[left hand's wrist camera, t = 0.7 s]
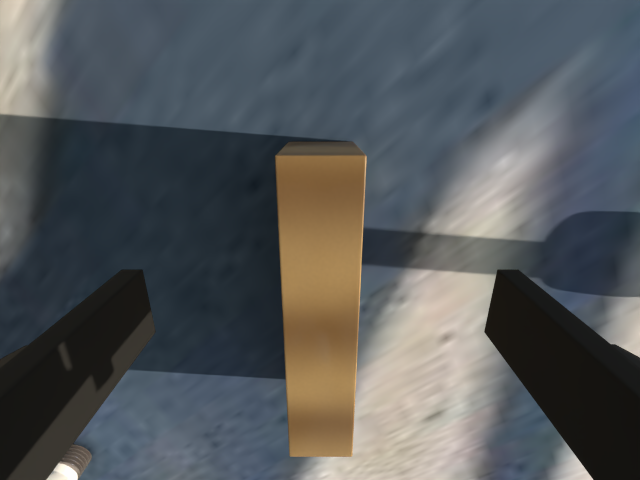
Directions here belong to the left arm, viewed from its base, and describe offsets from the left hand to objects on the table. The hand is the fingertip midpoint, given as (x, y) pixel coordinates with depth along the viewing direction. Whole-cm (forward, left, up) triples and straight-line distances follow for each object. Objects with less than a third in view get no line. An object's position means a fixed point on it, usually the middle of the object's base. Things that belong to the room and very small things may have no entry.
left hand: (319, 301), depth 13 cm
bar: (+5, +5, -16) cm, 18 cm away
